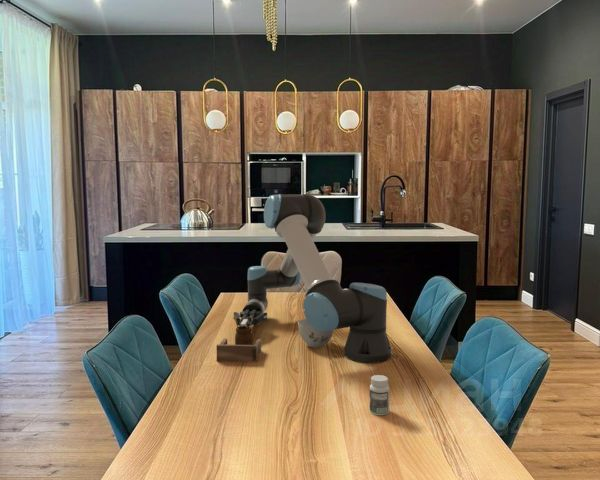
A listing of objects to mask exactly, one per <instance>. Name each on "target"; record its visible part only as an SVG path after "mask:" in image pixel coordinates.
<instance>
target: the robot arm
mask: <svg viewBox="0 0 600 480" xmlns="http://www.w3.org/2000/svg"><path fill="white" fill-rule="evenodd" d="M263 222H264V224H265V227H267V228H268V229H271V230H272V229H274V230H275V232H276V234H277V236H278V237H280V238H282V239H283V240H284V241H285V244H286V247H287V250H286V253H285V255H284V257H283V260H282V261H281V264H280V267H279V268H278V269H272V270H271V269H269V270H267V267H265V266H263V265H255V266H254V265H252V266H250V267H249V268H247V303H246V304H245V306H244V307H243V308H242V311H240V313H239V312H236V311H234V312H233V315H234V314H235V317H236V320H237V324H238V327H239V326H249V327H252V326H254V327H257V326H258V325H259V324H262V322H264V321H267V320H268V312H265V311H266V310H267V308H268V303H269V302H268V298H267V291H268V290H270V289H279V288H280V289H281V288H292V287H294V286H295V287H296V286H298V285H299V284H300V282H301V279H302V281H303V282H302V283H303V284H304V286H305V288H306V292H305V294H304V296H305V297H304V299H303V302H302V303H303V304H302V306H303V315H304V317H305V318H304V319H306V320H307V322H308V323H309V325H310V326H311V327H312V328H314V329H315V330H318V331H332V330H334V331H336V330H339V329H346V328H349V332H348V335H347V339H346V341H345V345H344V347H343V356H344V357H345V358H346V359H349V360H352V361H354V362H358V363H359V362H360V363H369V364H370V363H372V364H373V363H381V362H386V361H388V360H390V359H391V357H392V347H391V345H390V344H391V343H390V341H389V337H388V334H387V305H388V297H387V290H386V288H385V287H383V286H381V285H377V284H373V283H365V282H352V283H350V284H349V288H345V289H346V290H343V289H344V288H342V286H341V284H340V282H339V281H338V280H337V279H334V278H332V276H331V274H330V272H329V270H328V269H327V266H326V264H325V263H324V261H323V259H322V256H321V255H320V252H319V250H318V248H317V245H316V244H315V242H314V239H315V238H316V236H317V235H318V234H320V233H321V231H322V230H323V228H324V226H325V222H326V209H325V207H324V204H323V203H322V201H321V200H320V199H319V198H317V197H316V196H314V195H312V194H309V193H303V194H300V193H299V194H291V193H290V194H289V193H288V194H284V193H283V194H282V193H279V194H271V195H269V196H268V197H267V199H266V201H265V204H264V208H263ZM250 316H251V317H250ZM249 318H250V319H249ZM251 318H253V319H251ZM233 320H235V318H234V317H233ZM251 320H253V321H251ZM246 321H247V322H246ZM248 323H249V324H248ZM237 324H236V323H235V325H236V326H237ZM250 325H251V326H250Z"/></svg>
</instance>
